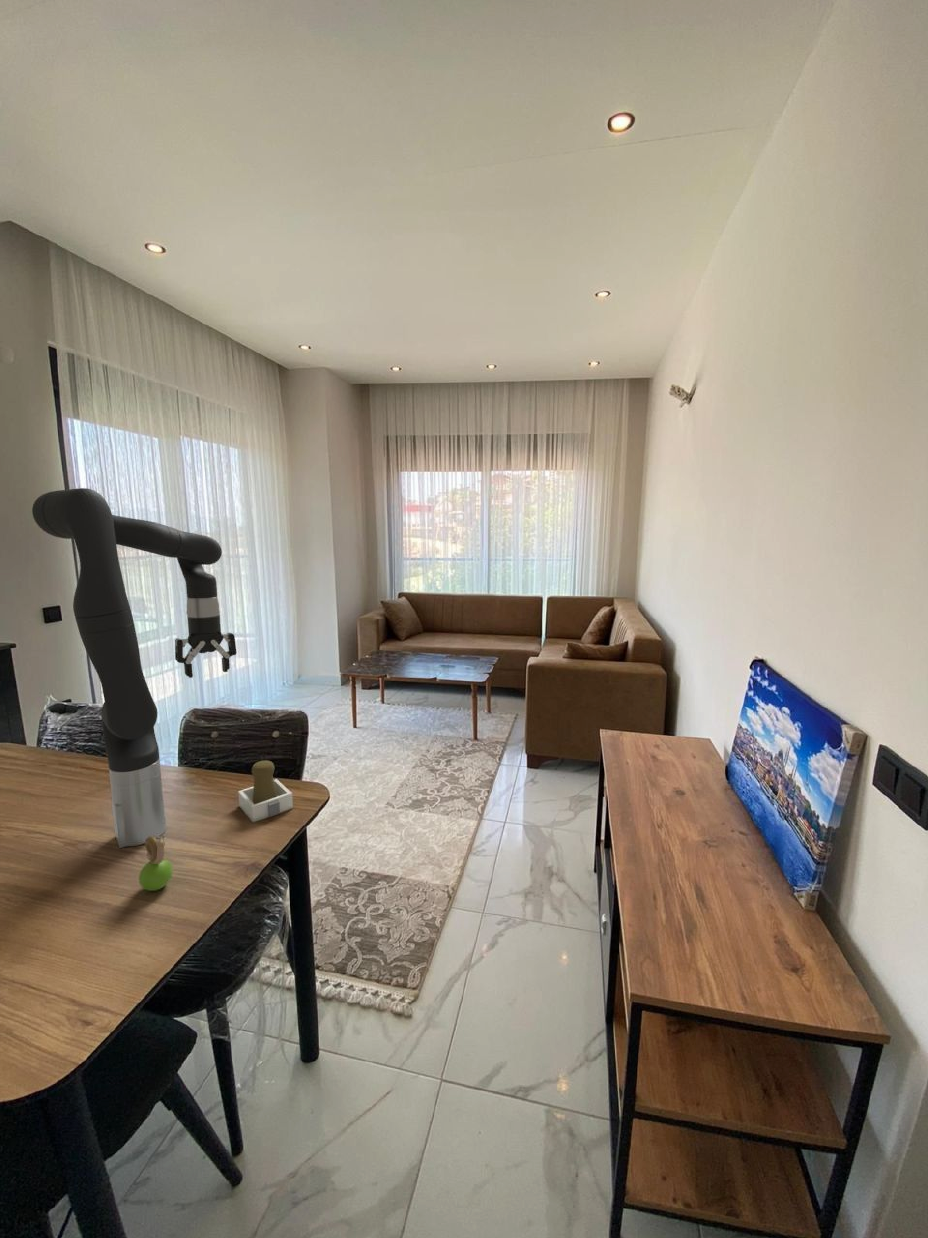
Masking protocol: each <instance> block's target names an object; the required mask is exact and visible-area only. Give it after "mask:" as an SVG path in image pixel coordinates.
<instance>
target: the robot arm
mask: <svg viewBox="0 0 928 1238" xmlns="http://www.w3.org/2000/svg"><path fill="white" fill-rule="evenodd" d="M31 513H32V516H33V519H34V522H35V523H36V525H37V526H38V528H40V529H41V530H42V531H43V532H45V533H46V534H48V535H51V536H52V537H56V538H59V539H65V540H67V539H68V540H69V539H70V540H74V543H75V547H76V549H77V554H78V558H79V563H80V564H79V565H80V566H79V567H80V569H79V575H78V581H77V584H76V586H75V587H76V588H75V592H74V596H73V602H72V609H73V615H74V619H75V621H76V625H77V629H78V633H79V635H80V638H81V641H82V643H83V646H84V649H85V651H86V653H87V656H88V658H89V660H90V662H91V664H92V667H93V668H94V670H95V672H96V673H97V676H98V679H99V682H100V685H101V688H102V694H103V700H104V702H103V705H102V706H101V716H100V717H101V723H102V732H103V738H104V739H103V741H104V747H105V748H104V749H105V754H106V758H107V762H108V770H109V771H108V772H109V780H110V788H111V798H110V799H111V809H112V818H113V819H112V820H113V827H114V834H115V839H116V842H117V844H118V848H120V849H121V848H126V847H134V846H135V847H136V846H140V845H143V844H144V845H145V840H146V839H147V838H148V837H149V836H154V837H155V838H156V839H158V837H161V836H162V835H164V832H165V831H166V830H167V823H166V816H165V815H166V812H165V802H164V801H165V800H164V793H163V781H162V780H163V779H162V771H161V770H162V769H161V760H160V759H161V757H160V750H159V744H158V741H157V737H156V733H155V726H156V724H157V721H158V720H157V719H158V709H157V708H158V707H157V706H156V703H155V701H154V699H153V696H152V694H151V692H150V689H149V686H148V683H147V681H146V679H145V674H144V672H143V668H142V662H141V653H140V648H139V642H138V641H139V640H138V636H137V631H136V626H135V622H134V621H135V620H134V618H133V617H134V616H133V614H132V609H131V606H130V602H129V600H128V597H127V592H126V588H125V583H124V578H123V574H122V569H121V565H120V560H119V553H118V546H117V545H119V546H121V547H126V548H131V549H135V550H138V551H144V552H147V553H150V554H154V555H159V556H162V557H166V558H172V559H173V558H176V561H177V563H178V565H179V568H180V570H181V571H180V572H181V573H182V576H183V579H184V582H185V587H186V588H185V590H186V611H185V612H186V615H187V616H186V617H187V619H186V620H187V627H188V629H187V631H188V637H187V638H178V637H177V638H175V639H174V657H175V661H176V662H178V663H180V664H183V667H184V669H183V670H184V674H185V676H186V677H188V678H189V679H191V678H193V677H194V674H193V663H192V661H193V660H194V659H195V658H196V657H197V656H198V654H206V653H214V652H215V651H216V652H218V653H219V654H220V655H221V656H222V657H221V665H222V666H221V669H222V672H224V673H228V670H230V669H231V666H230V665H231V664H230V658H231V657H232V656H236V655H237V646H236V645H237V644H236V640H235V634H234V633H232V632H227V633H225V634H223V633H222V631H221V630H222V628H221V627H222V626H221V614H220V613H221V611H220V603H219V602H220V601H219V598H218V586H217V585H218V584H217V578H216V577H215V576H214V575H213V574H210V573H208V572H206V571H205V570H204V567H203V565H205V566H209V565H210V566H211V565H214V564H215V563H217V562H218V561H220V559H221V557H222V553H223V552H222V551H223V550H222V547H221V544H220V543H219V542H218V541H217V540H216V539H214V538H212V537H210V536H207V535H203V534H198V533H194V532H189V531H182V530H180V529H176V528H175V527H171V526H168V525H165V524H163V523H158V522H155V521H150V520H145V519H138V518H131V517H126V516H119V515H115V514H112V511H111V508H110V506H109V503H108V501H107V500H106V498H104V497H103V496H102V495H101V494H100V493H99V492H97V491H96V490H94V489H91V488H87V487H81V488H80V487H78V488H69V489H61V490H53V491H49V492H46V493H43V494H41V495H40V496H39V497H37V498H36V499H35V500H34V502H33V504H32V508H31ZM224 640H225V642H227V647H228V651H226V650H225V649H224V648H223V647H222V646H221V643H222V642H223V641H224ZM187 644H189V646H190V649H189V650H188V651H187V654H186V655H185V657H184V652H183V651H184V650H183V649H184V648H185V647H186V645H187Z"/></svg>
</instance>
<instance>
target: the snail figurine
mask: <svg viewBox="0 0 928 1238" xmlns="http://www.w3.org/2000/svg"><path fill="white" fill-rule="evenodd" d="M164 838H165V834H162V835H160V836H159V837H158V838H155V837H154V836H149V837H148V838H147V839H146V840H145V843H144V845H145V846H144V847H145V850H146V856H147V857H146V858H147V860H148V861H149V862H147V863H146V864H145V865H144V866H143V867H142V869H141V870H140V872H139V875H138V881H139V882H138V883H139V885H140V886H141V888H143V889H144V890H146V891H148V892H150V891H151V892H153V891H154V892H155V891H159V890H161V889H162V888H164V887H165V886H166V885H167V884H169V882H170V880H171V879H172V876H173V866H172V864H171V863H170V861H168V860H167V859H164V857H165V851H166V850H165V845H166V842H165V841H164V840H165V839H164ZM161 839H162V840H161Z"/></svg>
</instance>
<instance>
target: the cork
mask: <svg viewBox="0 0 928 1238" xmlns="http://www.w3.org/2000/svg"><path fill="white" fill-rule="evenodd" d="M274 772H275V764H274V763H273V762H272V761H270V760H260V761H257V762H255V763H254V764H253V765H252V768H251V774H252V776H253V777H252V778H254V781H253V786H254V789H253V800H252V802H253V803H254V805H255V804H257V803H260V802H263V801H266V800H269V799H272V798H275V797H277V794H276V789H275V785H274V780H275V779H274V777H273V775H274Z"/></svg>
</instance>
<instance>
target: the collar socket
mask: <svg viewBox="0 0 928 1238" xmlns="http://www.w3.org/2000/svg"><path fill="white" fill-rule="evenodd" d="M273 780H274V785H275V789H276V794H277V797H275V798H272V799H269V800H266V801H263V802H260V803H257V804H255V805H254V803H253V802H252V800H253V789H254V785H253V786H251V787H248V788H245V789H242V790H238V793H237V795H238V806H239V808H240V809H241V810H242V812H244V814H245V815H246V816H247V818H249V820H250V821H251V822H252V823H256V822H258V821H261V820H264V819H266V818H272V817H274V816H276V815H280V814H281V813H284V812H286V811H289V810H292V809H293V807H294V806H293V792H292V791H290V790H289V789H288V788H287V787H286V786H285V785H284V784H283V783H282V782H280V780H279V779H278V778H275V779H273Z"/></svg>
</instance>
